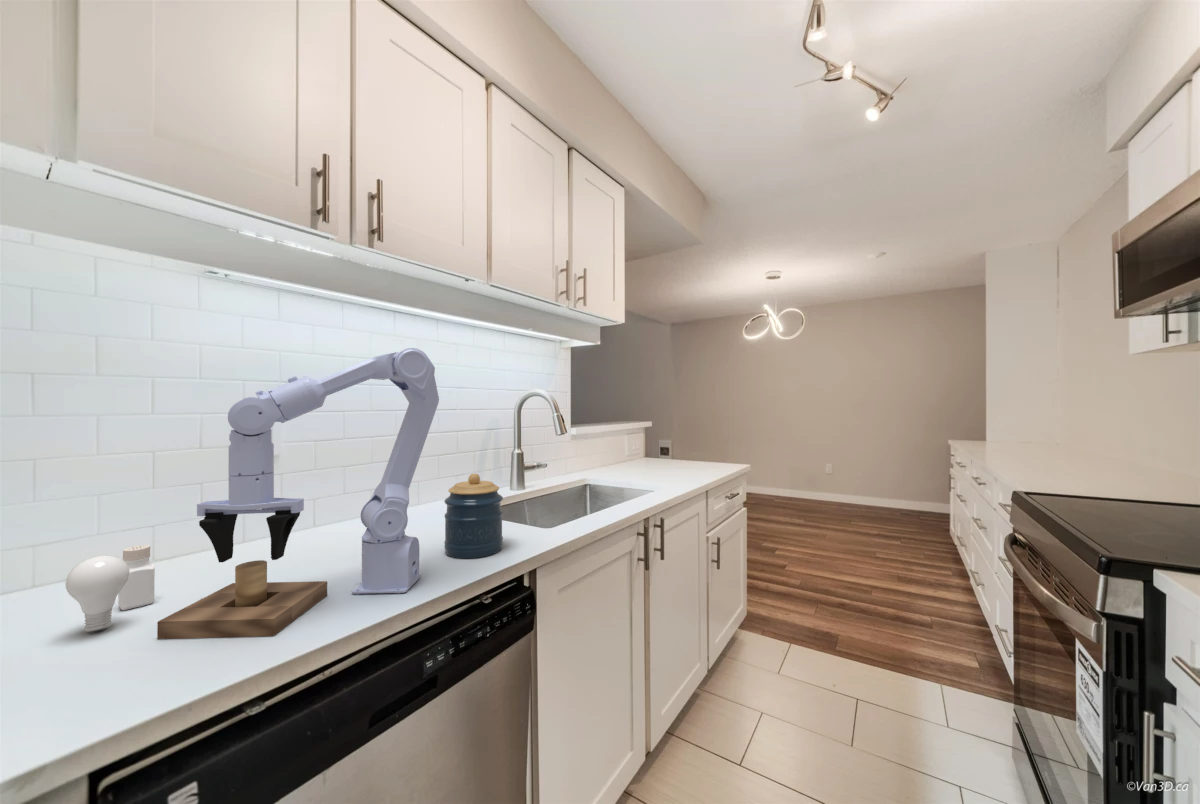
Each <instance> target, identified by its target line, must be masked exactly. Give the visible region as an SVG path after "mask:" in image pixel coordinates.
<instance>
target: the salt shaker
mask: <svg viewBox="0 0 1200 804" xmlns="http://www.w3.org/2000/svg"><path fill="white" fill-rule="evenodd" d="M150 558H151V545H148V544H143V545H142V544H141V545H134V546H129V547H126V548H124V549H123V550H122V559H123V560H124V561H125V562H126V563H127V564H128V566H129V570H130V575H129V578H128V581H127V582H126V584H125V585H124V587H123V588H122V589H121V590H120V592H119V593H118V595H117V598H118V599H117V600H118V601H117V602H118V606H119V609H120V610H121V611H127V610H131V609H135V608H139V607H144V606H147V605H151V604H153V603H154V602H155V574H156V573H155V571H156V570H155V565H154V564H153V563H151V562H150Z"/></svg>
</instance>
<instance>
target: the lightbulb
mask: <svg viewBox="0 0 1200 804" xmlns="http://www.w3.org/2000/svg"><path fill="white" fill-rule="evenodd" d="M129 575H130V570H129V566H128V564H127V563H126V562H125V561H124V560H123V558H121V557H119V556H116V555H108V554H104V555H97V556H92V557H89V558H87V559H84V560H83V561H81V562H79V563H78V564H77V565H75V566H74V567H73V568H72V569H71V570H70V572H68V575H67V577H66V579H65V589H66V592H67V593H68V595H69V596H70V597H72V598H73V599H74V601H76V602H77V603H78V604H79V606H80V609H81V611H82V613H83V614H84V631H85V632H90V633H97V632H102V631H104V630H105V629H107V628H108V627H109V626H111V625H112V618H113V616H112V615H113V612H112V610H113V607H114V605H115V603H116V599H117V598H118V593H119V592H120V590H121V589H122V588H123V587H124V585H125V584H126V582H127V581H128V578H129Z"/></svg>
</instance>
